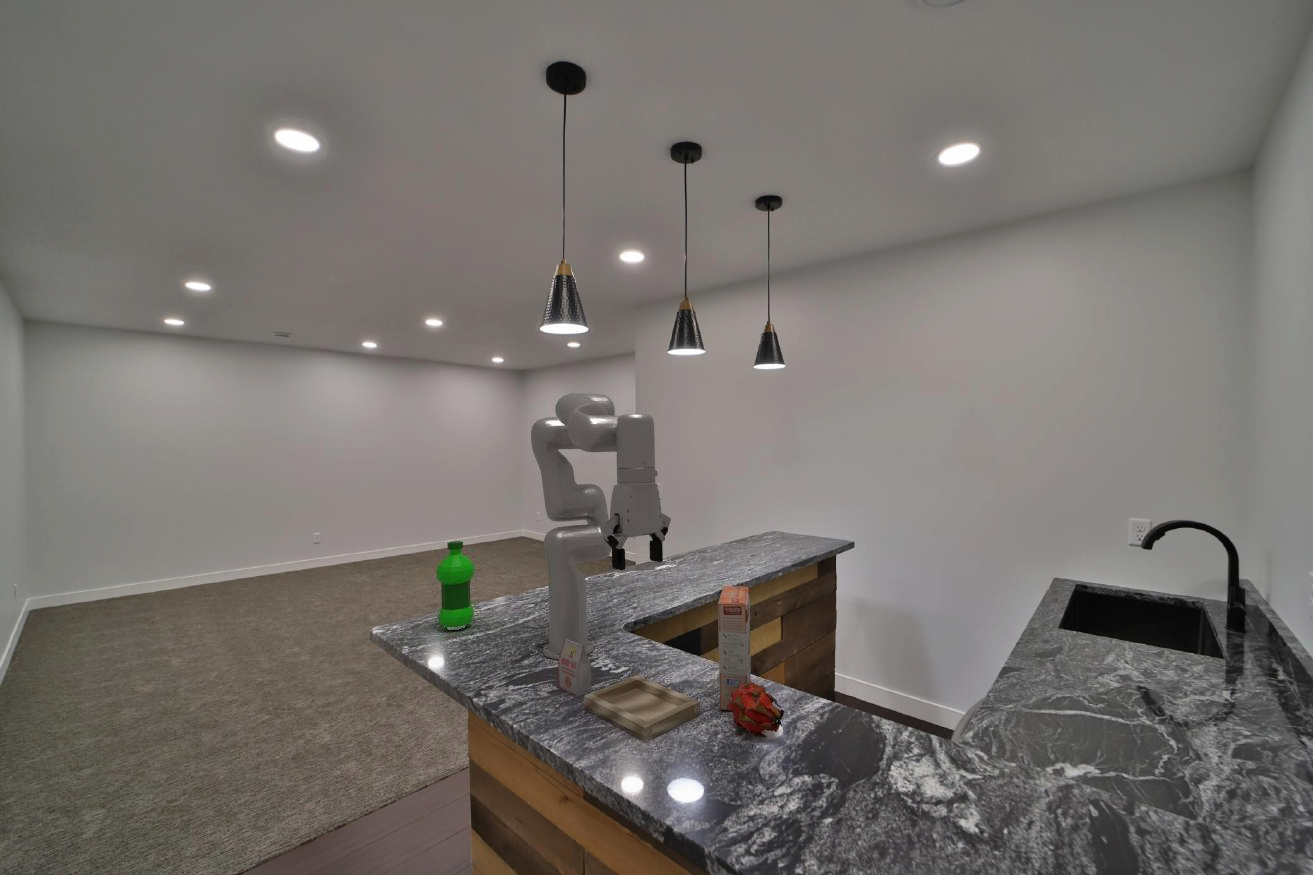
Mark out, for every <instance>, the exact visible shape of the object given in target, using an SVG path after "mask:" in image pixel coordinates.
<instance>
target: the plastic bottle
mask: <svg viewBox="0 0 1313 875" xmlns="http://www.w3.org/2000/svg"><path fill="white" fill-rule="evenodd" d="M463 548H464V541H461V540H460V541H459V540H457V541H456V540H455V541H449V542H447V550H449V554H448V555H447V556H446V557H445V558H444V559H443V560H442V561H441V562H440V563H439V564H438V565H437V568H436V570H435V574H436V579H437V580H438V581H439V583H440V584H441V585H440V586H441V590H440V592H441V593H440V594H441V608H440V610H439V613H440V614H439V613H438V618H437V619H438V622H439V624H440V625H441V626H442V625H443V626H445V627H458V626H463V625H466V624H468V625H469V624H470V623H471V621H472V620H473V619H474V616H475V610H474V608H473V605H472V604H471V579H472V578H473V577H474V575H475V570H476V569H475V564H474V562H473V561H472V560H470V558H468V557H467V556H465V555H464V554H463V553H462V549H463ZM443 626H442V627H443ZM445 627H444V628H445Z"/></svg>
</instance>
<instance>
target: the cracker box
mask: <svg viewBox="0 0 1313 875" xmlns="http://www.w3.org/2000/svg"><path fill="white" fill-rule="evenodd" d="M718 599H719V600H718V603H717V611H718V612H717V618H718V619H717V620H718V622H717V624H718V625H717V626H718V629H717V630H718V631H717V632H718V688H719V689H718V691H719V692H718V694H719V695H718V696H719V697H718V698H719V699H718V700H719V704H718V705H719V710H720V711H730V710H727V705H728V703H729V701H730V700H731V699H733V698H732V697H731V693H732V692H733V691H734V690H735V689H736V688H737V687H738V686H739V685H740V684H741V683H746V682H748V681H751V680H752V678H751V669H752V668H751V613H750V612H751V608H750V607H751V606H750V600H751V599H750V587H748V586H735V585H734V586H730V585H729V586H723V588H722V590H721V593H720V596H719V598H718ZM730 712H731V711H730Z"/></svg>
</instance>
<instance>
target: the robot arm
mask: <svg viewBox="0 0 1313 875" xmlns="http://www.w3.org/2000/svg"><path fill="white" fill-rule="evenodd" d="M554 411H555V414H556V416H553V417H551V416H550V417H543V418H540V419H537V420H536V421H535V422H534V423H533V425H532V426H531V430H530V442H531V449H532V453H533V455H534V458H535V460H536V462H537V465H538V469H539V470H540V475H541V483H542V490H543V500H544V506H545V512H546V515H547V518H548V519H549V520H551V521H553V522H556V523H559V522H560V523H561V522H562V523H563V522H574V521H575V522H578V521H586V523H587V524H575V525H574V524H573V525H565V526H563V525H562V526H559V527H555V528H552V529H550V530H549V531H547V533H546V534H545V536H544V538H543V549H544V556H545V559H546V567H547V576H548V577H547V580H548V581H547V583H548V619H549V620H548V621H549V622H548V625H549V628H548V629H549V630H547V631H545V633H544V636H545V637H547V638H548V643H547V644H546V645H545V646H544V647H543V654H544V656H545V657H547V658H550V659H553V660H558V659H559V656H560V653H561V650H562V646H563V642H564V639H568V640H570V641H573V642H576V643H578V644H581V645H583V646H584V648H585V651H586V654H587V656H588V655H589V654H591V653H592V652H593V651H594V643H593V642H592V641H591V640H588V607H587V604H588V602H587V581H586V577H585V575H584V574H583V572H582V571H581V569H579V568H578V567H577V564H580V563H586V562H595V561H602V560H605V559H607V558H608V557H609V556H610V554H611V567H612V569H614V570H617V571H618V570H619V571H625V570H626V549H625V548H624V546H625V543H626V541H627V540H628V538H637V537H641V536H647V535H648V536H649V537H650V538H651V540H649V560H650V561H652V562H655V563H663V561H664V553H663V550H664V548H663V542H665V540H666V535H667V534H668V532H669V527H670V524H671V522H672V519H671V517H670V516H668V515H666V514H664V513H662V505H661V497H660V496H661V495H660V490H659V486H658V483H657V482H656V477H657V476H658V471H657V470H656V448H655V443H656V442H655V421H654V417H652V415H651V414H648V413H647V414H646V413H627V414H621V415H615V414H616V409H615V405H614V402H613V401H612V399H611V398H610V397H609V396H607V395H606V394H602V393H584V392H583V393H579V392H577V393H576V392H575V393H573V392H572V393H568V394H564V395H563V396H561V397H560V398H559V399H558V400H557V402H556V404H555V409H554ZM559 450H581V451H583V452H585V453H586V452H588V453H610V452H611V453H614V452H615V453H616V484H614V485H613V488H612V491H611V499H610V508H609V509H610V512H609V513H608V511H609V510H608V505H607V500H606V496H605V493H604V491H603V490H602V488H601V487H600V486H599V485H597V484H595V483H594V484H592V483H583V484H581V483H577V482H576V479H575V473H574V467H573V465H572V463H571V462H570V461H569V459H568V458H567V457H566V456H565V455H564V454H562V452H561V451H559Z"/></svg>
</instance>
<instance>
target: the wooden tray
mask: <svg viewBox="0 0 1313 875" xmlns="http://www.w3.org/2000/svg"><path fill="white" fill-rule="evenodd" d="M583 700H584V704H583V705H584V710H586V711H587V712H589V713H591V714H593V715H595V716H596V717H598V718H601V719H602V720H603V721H606V722H607V723H610V724H612V725H613V726H615V727H617V728H618V729H620V730H622V731H624V732H626V733H628V734H629V735H631V736H633V737H635V738H637V739H638V740H640V741H643V742H644V743H647V742H650V741H651V740H653V739H656V738H657V737H659V736H662V735H664V734H665V733H667V732H669V731H671V730H673V729H675V728H677V727H679V726H681V725H683V724H685V723H687V722H689V721H691V720H693V719H695V718H698V716H700V715H701V701H699V700H697V699H695V698H692V697H690V696H689V695H685V694H682V693H681V692H678V691H676V690H674V689H672V688H670V687H669V688H668V687H667V686H663V685H662V684H660V683H657V682H655V681H653V680H650V679H648V678H645V677H643V676H640V675H634V676H633V677H629V678H627V679H624V680H622V681H619V682H616V683H615V684H611V685H609V686H606V687H604V688H602V689H599V690H597V691H594V692H591V693H587V694H585V695H584V696H583Z"/></svg>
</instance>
